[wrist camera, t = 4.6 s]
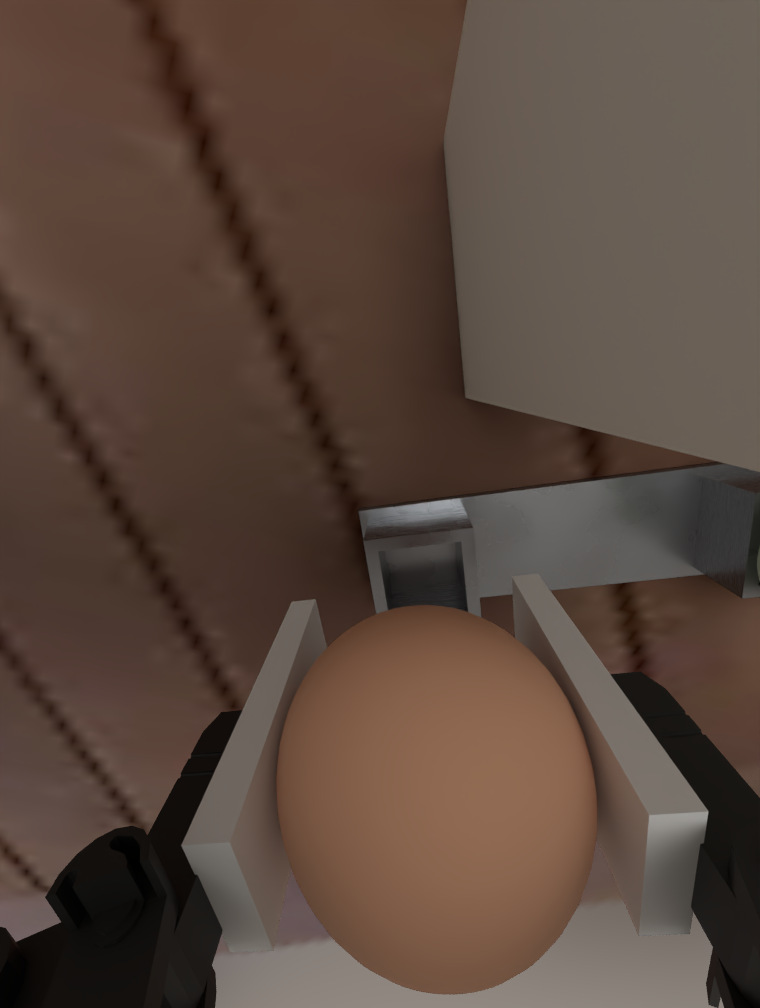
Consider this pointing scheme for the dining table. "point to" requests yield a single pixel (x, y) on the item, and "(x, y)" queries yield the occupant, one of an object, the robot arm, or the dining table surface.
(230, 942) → the robot arm
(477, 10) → the open square box
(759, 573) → the ball sage
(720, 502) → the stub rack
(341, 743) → the ball terracotta
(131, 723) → the dining table surface
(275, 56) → the dining table surface
